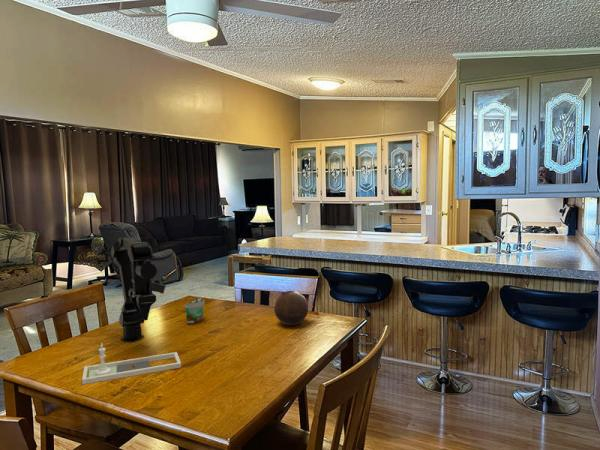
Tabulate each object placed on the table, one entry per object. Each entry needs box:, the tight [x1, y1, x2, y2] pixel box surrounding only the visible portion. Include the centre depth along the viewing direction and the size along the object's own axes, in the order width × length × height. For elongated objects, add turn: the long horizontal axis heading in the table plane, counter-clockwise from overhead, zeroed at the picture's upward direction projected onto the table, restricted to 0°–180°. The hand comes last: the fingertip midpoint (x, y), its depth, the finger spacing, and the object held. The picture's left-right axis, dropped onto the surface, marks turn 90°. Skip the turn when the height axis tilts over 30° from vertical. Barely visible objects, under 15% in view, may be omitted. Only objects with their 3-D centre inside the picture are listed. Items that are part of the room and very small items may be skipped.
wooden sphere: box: [273, 290, 309, 326], centre depth 189 cm, size 15×15×15 cm
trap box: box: [81, 351, 182, 385], centre depth 143 cm, size 30×11×2 cm, turn 114°
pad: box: [88, 366, 117, 378], centre depth 140 cm, size 8×9×1 cm
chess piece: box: [95, 342, 111, 376], centre depth 140 cm, size 5×5×10 cm
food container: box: [184, 296, 206, 326], centre depth 194 cm, size 12×6×10 cm, turn 168°
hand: (143, 317), depth 159 cm, fingers open, 9 cm apart
